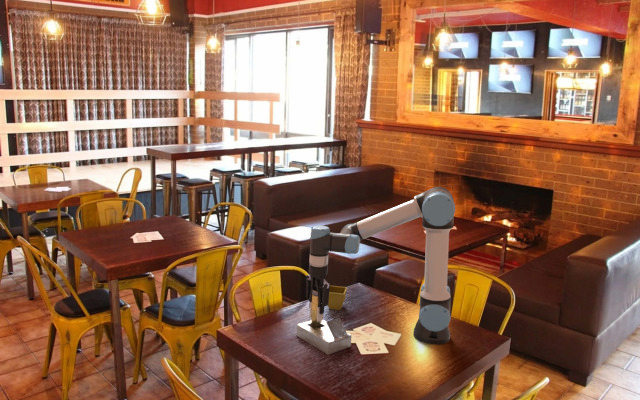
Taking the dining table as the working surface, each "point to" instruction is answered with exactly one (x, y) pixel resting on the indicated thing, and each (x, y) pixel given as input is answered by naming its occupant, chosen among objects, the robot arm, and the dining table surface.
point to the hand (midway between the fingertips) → (316, 318)
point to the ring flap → (337, 330)
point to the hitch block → (321, 337)
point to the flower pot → (336, 297)
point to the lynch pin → (315, 310)
